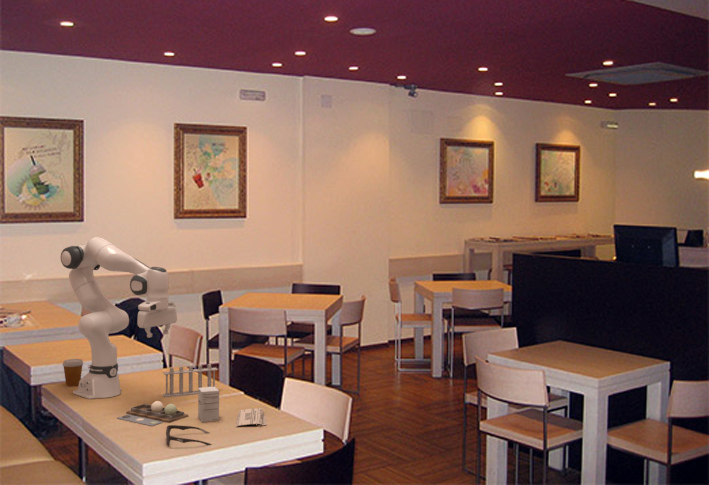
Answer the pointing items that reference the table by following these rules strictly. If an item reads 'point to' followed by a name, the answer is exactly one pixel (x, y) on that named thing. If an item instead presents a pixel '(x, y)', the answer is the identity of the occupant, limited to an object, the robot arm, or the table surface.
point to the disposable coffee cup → (72, 371)
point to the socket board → (155, 414)
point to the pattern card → (140, 420)
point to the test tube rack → (189, 380)
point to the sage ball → (170, 409)
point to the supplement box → (208, 404)
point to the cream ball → (157, 407)
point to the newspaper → (251, 417)
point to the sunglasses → (182, 438)
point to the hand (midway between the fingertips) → (157, 335)
